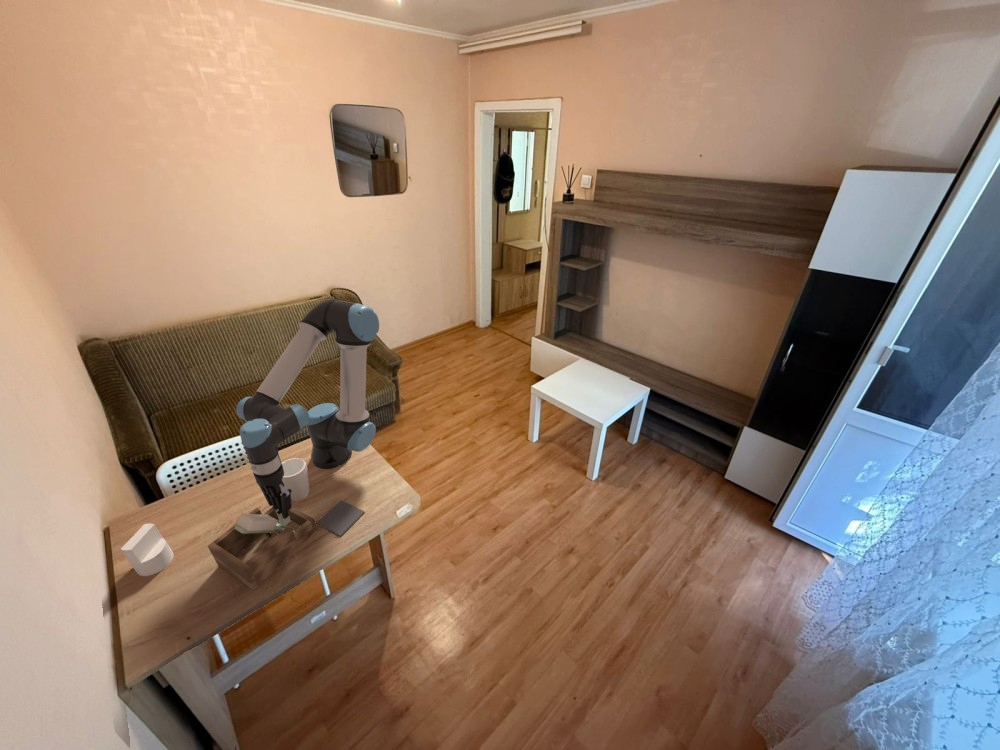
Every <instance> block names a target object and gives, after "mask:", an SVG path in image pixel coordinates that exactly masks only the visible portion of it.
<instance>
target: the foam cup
mask: <svg viewBox="0 0 1000 750" xmlns="http://www.w3.org/2000/svg"><path fill="white" fill-rule="evenodd" d="M281 464H282V466H283V470H284V476H283V478H282V481H283V483H284V488H285V489H286V490H287V489H291V491H292V492H291V501H294V502H296V501H302V500H304V499H306V498H307V497H308V495H310V485H309V484H310V483H309V475H308V465H307V462H306V461H305V459H303V458H300V457H292V458H289V459H286V460H284V461H281Z"/></svg>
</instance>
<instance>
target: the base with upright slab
mask: <svg viewBox="0 0 1000 750" xmlns="http://www.w3.org/2000/svg"><path fill="white" fill-rule="evenodd" d="M120 550H121V552H122V553H123V554H124V556H125V558H127V561H128V563H129V565H130V566H131V567H132V568H133V569H134V571H135V572H136V573H137V574H138V575H139V576H140V577H150V576H153V575H155V574H157V573H158V574H159V573H160V572H161V571H163V570H164V569H165V568H167V567H168V566H169V565H170V564H171V562H172V561H173V559H174V555H175V554H174V552H173V550H172V549H171V546H170V545H169V543H168V542H167V541H166V539H165V538H164V537H163V536H162V535H161V532H159V530H158V528H157V526H156V525H155V524H154V523H150V522H149V523H144V524H143V525H142V526H141V527H140V528H139V529H138V530H137V531H136V532H135V533H134V534H133V535H132V537H130V539H128V541H127V542H126V543H125V544H124V545H123V546H122V547H121V548H120Z"/></svg>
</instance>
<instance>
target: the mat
mask: <svg viewBox="0 0 1000 750" xmlns="http://www.w3.org/2000/svg"><path fill="white" fill-rule="evenodd" d="M365 513H366V512H365V510H363V509H361V508H358V507H357V506H354V505H352V504H351V503H348V502H346V501H344V500H342V499H340V500H339V501H338V502H337V503H336V504H335V505H333V506H332V507H331V508H330V509H329V510H328V511H327V512H326V513H324V515H322V517H320V518H319V519H318V520H317V521H315V522H316V525H317V526H320V527H322V528H323V529H325V530H327V531H329V532H331V533H333V534H335V535H336V536H339V537H342V536H344V534H345V533H346V532H348V530H349V529H350V528H351V527H352V526H353V525H354V524H355V523H356V522H357V521H358V520H359V519H361V517H362V516H363V515H364V514H365Z"/></svg>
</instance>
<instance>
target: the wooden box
mask: <svg viewBox="0 0 1000 750" xmlns="http://www.w3.org/2000/svg"><path fill="white" fill-rule="evenodd" d="M288 513H289V516H290V519H291V521H290V522H294V523H295V524H297V525H298V526H299V527H298V528H297V529H295V530H296V531H295V532H293V530H292V528H293V527H291V526H290V525H288V526H287V527H286V528H285V529H284V530H283V531H282V532H281V533H279V534H278V533H277V534H276V536H274V537H273V538H272V539H271V540H270V541H269V542H268V543H267V544H266V545H264V546H263V547H262V548H260V550H258V551H257V552H256V553H255V554H254V555H253V556H252V557H250V558H249V559H248V560H247V561H246V562H245V561H243V560H241V559H239V558H238V557H237V556H239V554H241V553H242V552H243V551H245V549H247V548H248V547H249V546H250V545H252V544H253V543H254V542H255V541H257V540H258V539H259V538H260V537H261V536H263V535H264V534H266V536H267V537H268V538H271V537H272V534H271V533H245V534H242V533H241V532H239V531H237V530H236V529H234V528H235V526H236V525H238V524H237V523H236V524H234V525H233V526H231V527H230V528H229V529H227V530H226V531H225V532H224V533H222V534H221V535H220V536H219V537H217V538H216V539H215V540H213V541H212V542H211V543H209V544H208V545H207V548H208V549H209V551H210V553H211V555H212V557H213V559H214V561H215V563H216V564H217V566H218V567H219V568H220V569H222V570H224V571H225V572H226V573H228V574H229V575H230V576H232V577H233V578H235V579H237V580H238V581H240V582H241V583H243V584H244V585H246V586H247V587H248V588H250V589H251V590H252V591H254V590H255V589H257V588H258V587H259V586H260V585H261V584H262V583H263V582H264V581H265V580H266V579H267V578H269V577H270V576H271V574H273V573H275V571H276V570H277V569H278V568H279V567H280V566H281V565H282V564H284V563H285V562H286V560H288V559H289V558H290V557H291V556H292V555H293V554H294V553H295V552H297V551H298V549H299V548H300V547H302V546H303V545H304V544H305V543H306V542H307V541H308V540H309V539H311V537H312V536H314V535H315V534H316V533H317V531H319V528H318V524H316V522H317V521H316V519H315V518H314V517H312V516H310V515H308V514H306V513H305V512H303V511H302V510H299V509H297V508H296V507H293V506H292V508H291V509H290V510H289V511H288ZM249 514H262V512H261V509H259V508H257V507H256V508H255V509H253V511H251V512H250V513H249ZM263 514H267V515H269V516H271V517H273V518H275V519H276V520H278V522H279V519H278V516H277V513H276V510H275V509H273V506H271V507H270V508H269V509H268V510H266V511H265V512H264V513H263Z"/></svg>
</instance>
